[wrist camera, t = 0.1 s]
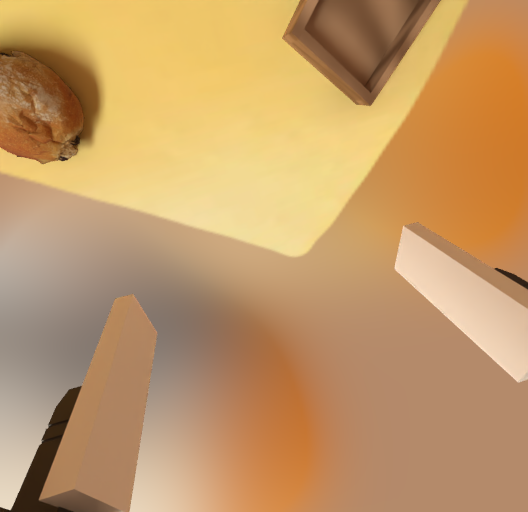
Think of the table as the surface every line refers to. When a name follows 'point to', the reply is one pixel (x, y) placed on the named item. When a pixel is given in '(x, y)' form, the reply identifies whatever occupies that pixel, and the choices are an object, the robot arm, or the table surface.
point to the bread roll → (37, 111)
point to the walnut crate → (357, 40)
